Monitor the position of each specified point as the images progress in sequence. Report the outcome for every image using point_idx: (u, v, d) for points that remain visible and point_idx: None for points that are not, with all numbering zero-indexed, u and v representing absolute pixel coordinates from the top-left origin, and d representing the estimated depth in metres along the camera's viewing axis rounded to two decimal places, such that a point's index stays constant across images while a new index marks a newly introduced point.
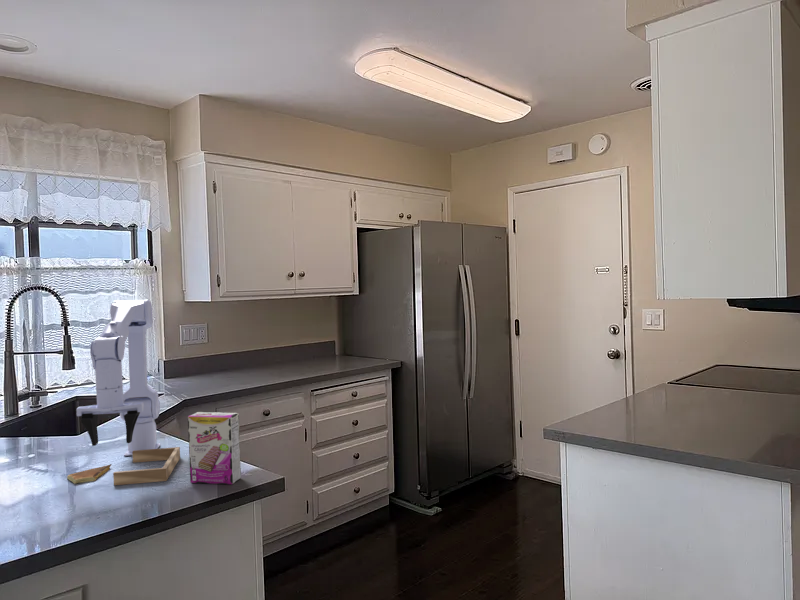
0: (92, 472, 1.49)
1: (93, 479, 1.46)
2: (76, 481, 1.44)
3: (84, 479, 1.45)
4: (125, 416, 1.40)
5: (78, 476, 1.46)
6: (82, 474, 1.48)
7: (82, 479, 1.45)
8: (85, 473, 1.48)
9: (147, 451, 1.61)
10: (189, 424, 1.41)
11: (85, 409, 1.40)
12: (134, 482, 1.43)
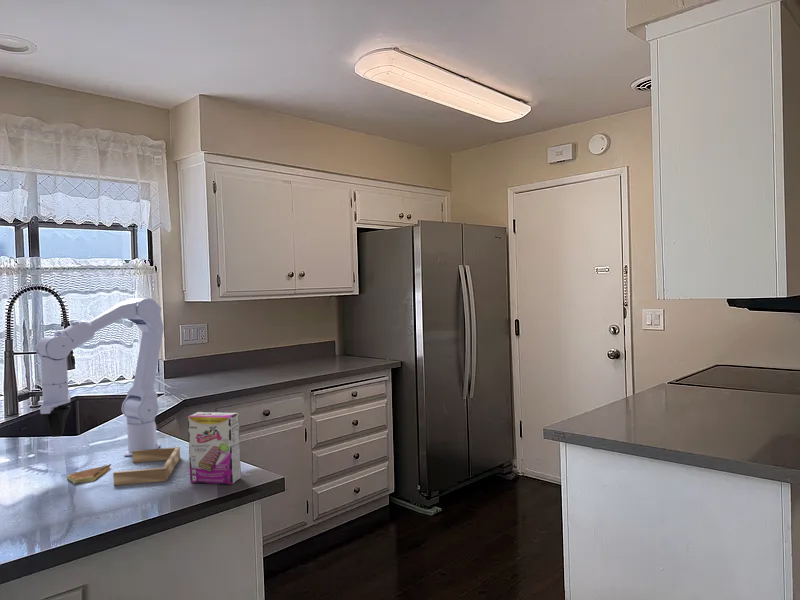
0: (92, 472, 1.49)
1: (93, 479, 1.46)
2: (76, 481, 1.44)
3: (84, 479, 1.45)
4: None
5: (78, 476, 1.46)
6: (82, 474, 1.48)
7: (82, 479, 1.45)
8: (85, 473, 1.48)
9: (147, 451, 1.61)
10: (189, 424, 1.41)
11: None
12: (134, 482, 1.43)
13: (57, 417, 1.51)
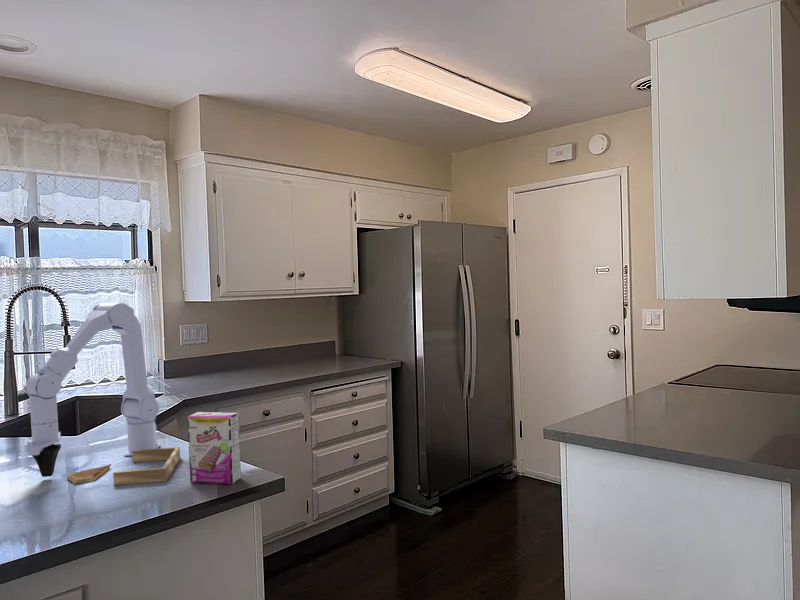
0: (92, 472, 1.49)
1: (93, 479, 1.46)
2: (76, 481, 1.44)
3: (84, 479, 1.45)
4: None
5: (78, 476, 1.46)
6: (82, 474, 1.48)
7: (82, 479, 1.45)
8: (85, 473, 1.48)
9: (147, 451, 1.61)
10: (189, 424, 1.41)
11: None
12: (134, 482, 1.43)
13: (47, 457, 1.47)
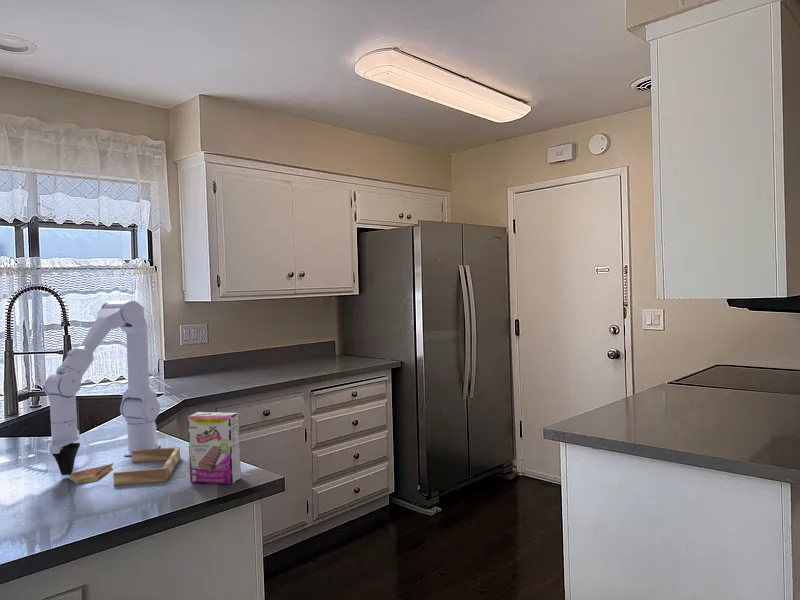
0: (94, 471, 1.49)
1: (95, 478, 1.46)
2: (78, 480, 1.44)
3: (86, 478, 1.46)
4: None
5: (80, 475, 1.46)
6: (84, 473, 1.48)
7: (84, 478, 1.45)
8: (87, 472, 1.48)
9: (147, 451, 1.61)
10: (189, 424, 1.41)
11: None
12: (134, 482, 1.43)
13: (67, 456, 1.48)
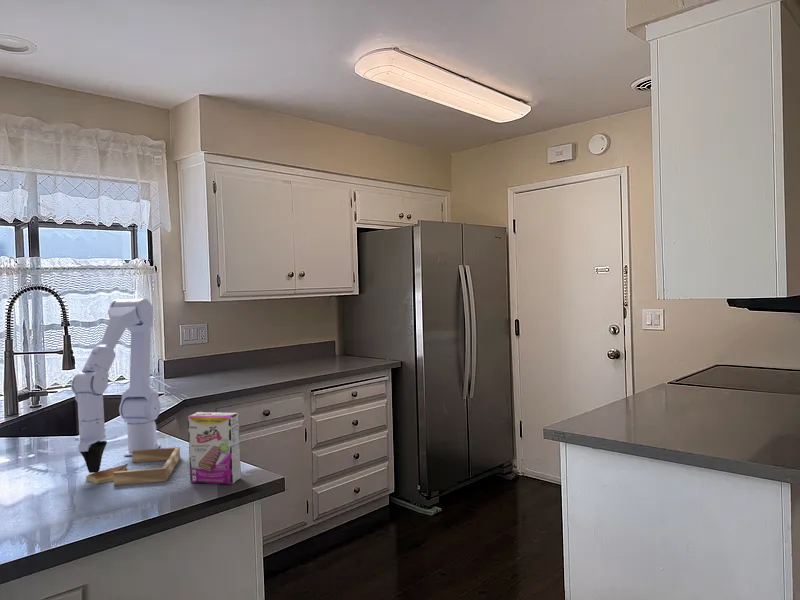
0: (112, 472, 1.49)
1: None
2: (98, 481, 1.44)
3: (106, 479, 1.45)
4: None
5: (99, 476, 1.45)
6: (102, 474, 1.47)
7: (104, 479, 1.45)
8: (105, 473, 1.48)
9: (147, 451, 1.61)
10: (189, 424, 1.41)
11: None
12: (134, 482, 1.43)
13: (94, 453, 1.50)
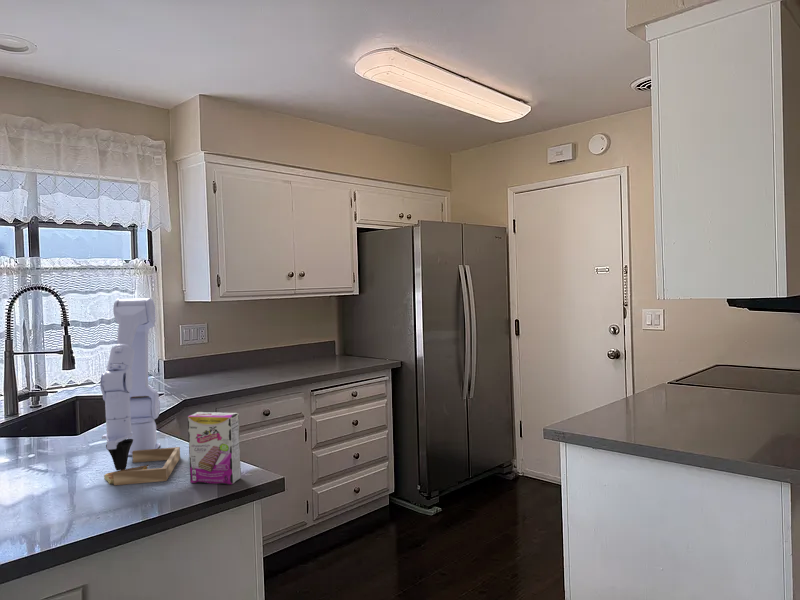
0: None
1: None
2: (111, 481, 1.43)
3: None
4: None
5: None
6: None
7: None
8: None
9: (147, 451, 1.61)
10: (189, 424, 1.41)
11: None
12: (134, 482, 1.43)
13: (121, 451, 1.51)
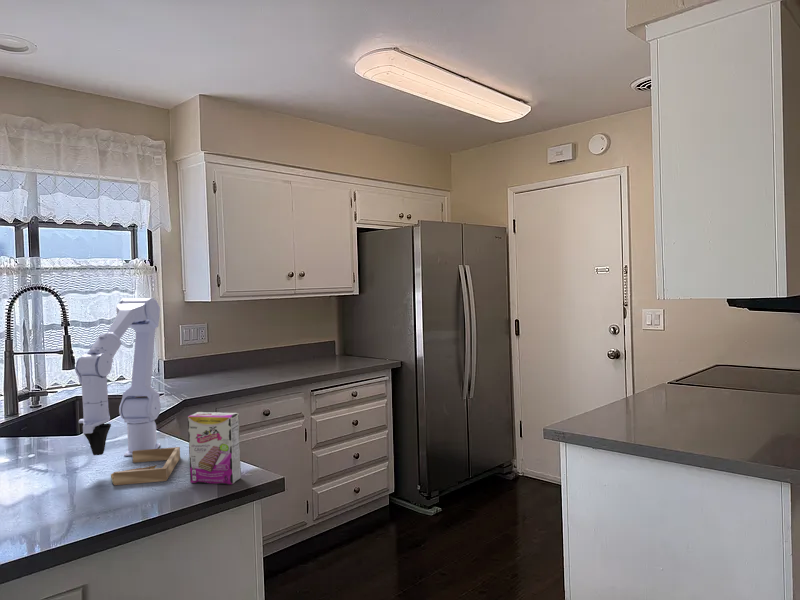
0: None
1: None
2: None
3: None
4: None
5: None
6: None
7: None
8: None
9: (147, 451, 1.61)
10: (189, 424, 1.41)
11: None
12: (134, 482, 1.43)
13: (98, 436, 1.50)
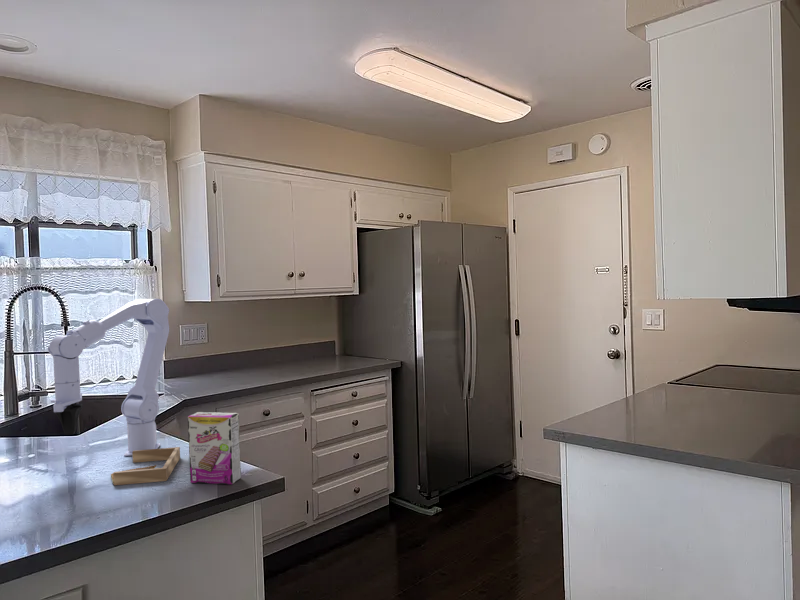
0: None
1: None
2: None
3: None
4: None
5: None
6: None
7: None
8: None
9: (147, 451, 1.61)
10: (189, 424, 1.41)
11: None
12: (134, 482, 1.43)
13: (70, 416, 1.53)
